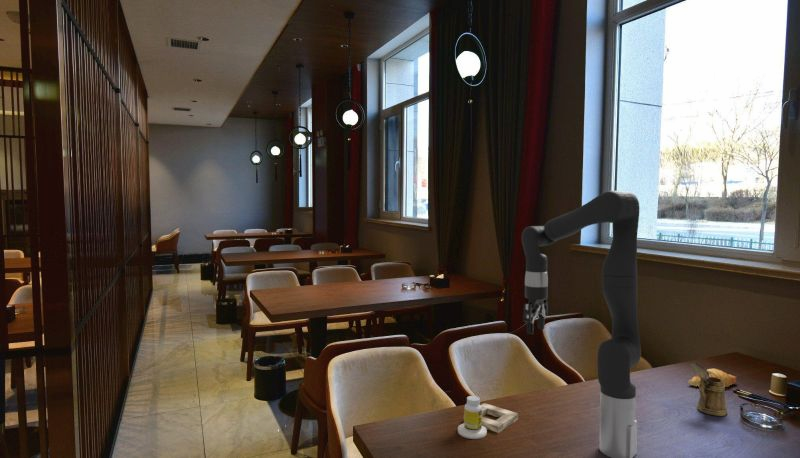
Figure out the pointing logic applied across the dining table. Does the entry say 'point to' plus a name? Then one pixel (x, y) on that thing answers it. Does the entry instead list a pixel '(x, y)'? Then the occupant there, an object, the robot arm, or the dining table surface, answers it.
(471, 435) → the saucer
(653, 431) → the dining table surface
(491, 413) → the square wooden frame
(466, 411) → the supplement bottle
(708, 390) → the wooden mug
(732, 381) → the croissant
